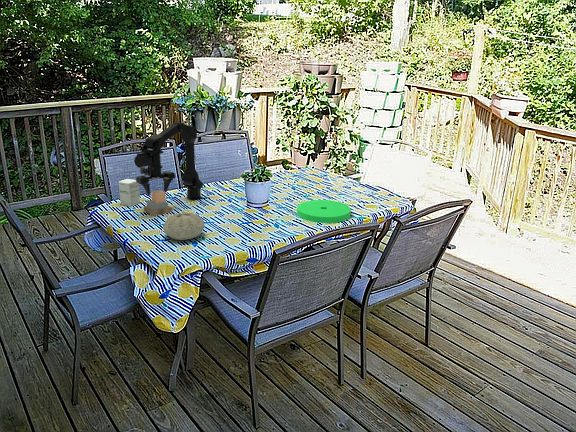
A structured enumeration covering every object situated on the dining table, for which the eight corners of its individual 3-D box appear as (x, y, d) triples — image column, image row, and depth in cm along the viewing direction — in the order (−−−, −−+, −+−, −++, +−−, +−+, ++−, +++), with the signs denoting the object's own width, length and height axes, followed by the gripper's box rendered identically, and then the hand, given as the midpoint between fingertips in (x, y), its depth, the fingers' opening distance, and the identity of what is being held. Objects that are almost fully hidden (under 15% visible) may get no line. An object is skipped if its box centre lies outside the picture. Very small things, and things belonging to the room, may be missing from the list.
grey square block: (161, 203, 258) (161, 198, 257) (168, 207, 252) (167, 202, 251) (146, 206, 253) (146, 200, 252) (152, 210, 247) (152, 204, 246)
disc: (354, 208, 263) (354, 202, 262) (345, 226, 239) (346, 219, 238) (304, 203, 270) (304, 197, 269) (290, 220, 246) (291, 213, 244)
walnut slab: (162, 208, 260) (161, 202, 259) (171, 213, 253) (171, 207, 252) (144, 212, 254) (143, 206, 253) (153, 217, 247) (153, 211, 246)
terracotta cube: (160, 199, 255) (160, 189, 253) (165, 201, 252) (165, 192, 250) (151, 201, 252) (151, 191, 250) (156, 203, 248) (155, 193, 247)
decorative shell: (155, 237, 221) (153, 216, 218) (184, 226, 235) (183, 205, 232) (185, 247, 212) (183, 224, 208) (213, 234, 226) (212, 213, 222)
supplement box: (120, 204, 263) (117, 181, 258) (130, 200, 269) (128, 178, 265) (130, 207, 259) (128, 183, 255) (140, 203, 266) (138, 180, 261)
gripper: (163, 157, 257) (165, 187, 262) (129, 163, 245) (132, 194, 250) (174, 161, 249) (176, 192, 254) (140, 167, 237) (142, 199, 242)
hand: (157, 194), depth 251 cm, fingers open, 9 cm apart
